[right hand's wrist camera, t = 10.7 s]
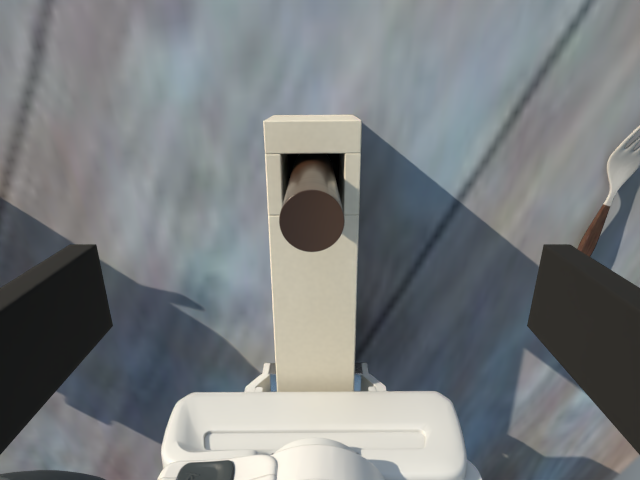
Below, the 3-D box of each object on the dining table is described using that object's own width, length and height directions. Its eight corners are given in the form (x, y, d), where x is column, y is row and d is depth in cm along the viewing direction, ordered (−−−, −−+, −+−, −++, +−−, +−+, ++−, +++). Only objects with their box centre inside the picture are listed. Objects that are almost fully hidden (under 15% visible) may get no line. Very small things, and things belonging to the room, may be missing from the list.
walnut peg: (332, 148, 31) (345, 189, 18) (332, 186, 32) (344, 252, 19) (293, 148, 31) (277, 189, 18) (294, 187, 32) (280, 252, 19)
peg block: (353, 114, 31) (361, 120, 25) (347, 379, 39) (353, 428, 33) (272, 115, 30) (263, 120, 25) (284, 380, 39) (278, 429, 33)
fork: (541, 298, 36) (554, 310, 34) (628, 113, 31) (649, 114, 29) (568, 304, 36) (582, 316, 34) (660, 121, 31) (682, 123, 29)
